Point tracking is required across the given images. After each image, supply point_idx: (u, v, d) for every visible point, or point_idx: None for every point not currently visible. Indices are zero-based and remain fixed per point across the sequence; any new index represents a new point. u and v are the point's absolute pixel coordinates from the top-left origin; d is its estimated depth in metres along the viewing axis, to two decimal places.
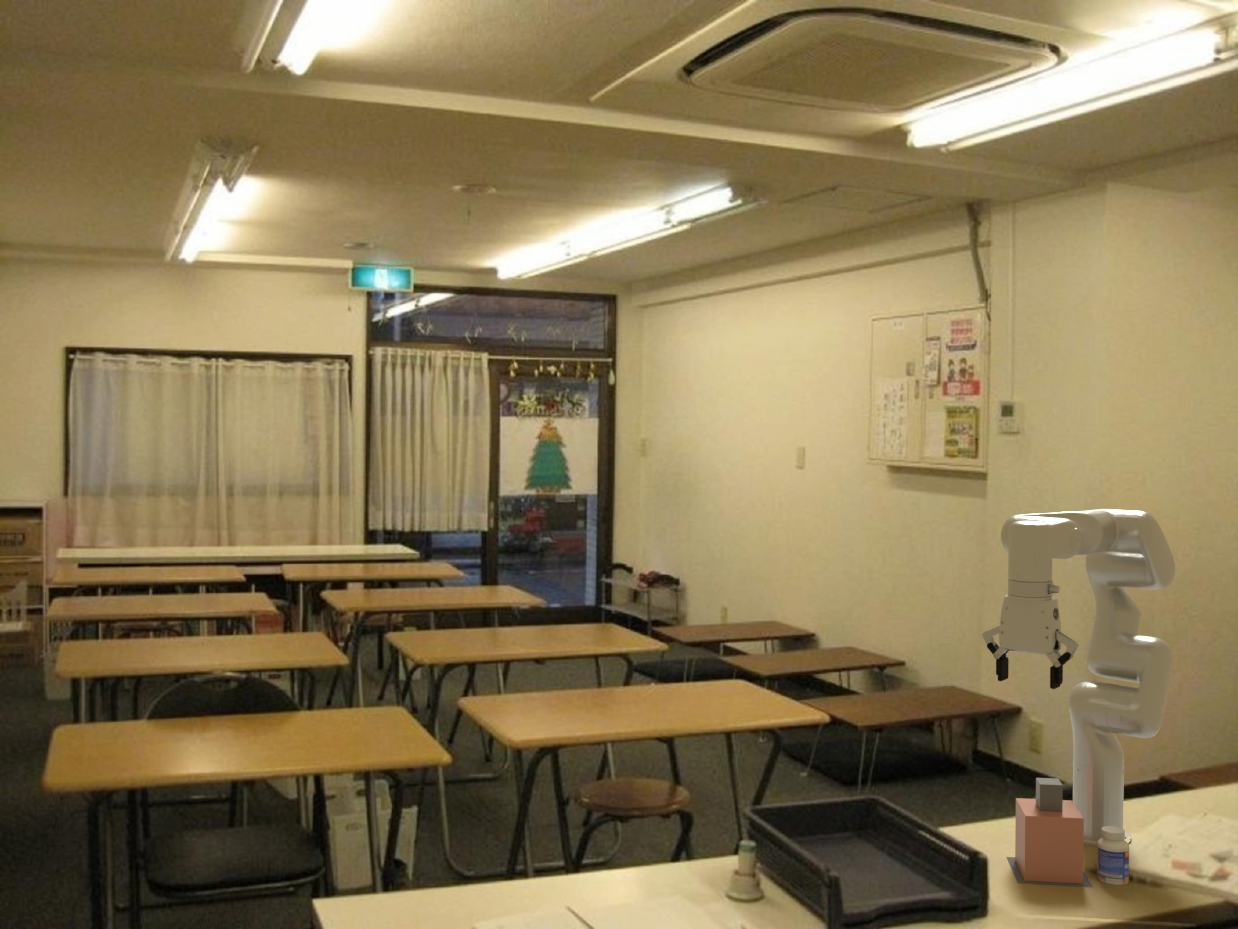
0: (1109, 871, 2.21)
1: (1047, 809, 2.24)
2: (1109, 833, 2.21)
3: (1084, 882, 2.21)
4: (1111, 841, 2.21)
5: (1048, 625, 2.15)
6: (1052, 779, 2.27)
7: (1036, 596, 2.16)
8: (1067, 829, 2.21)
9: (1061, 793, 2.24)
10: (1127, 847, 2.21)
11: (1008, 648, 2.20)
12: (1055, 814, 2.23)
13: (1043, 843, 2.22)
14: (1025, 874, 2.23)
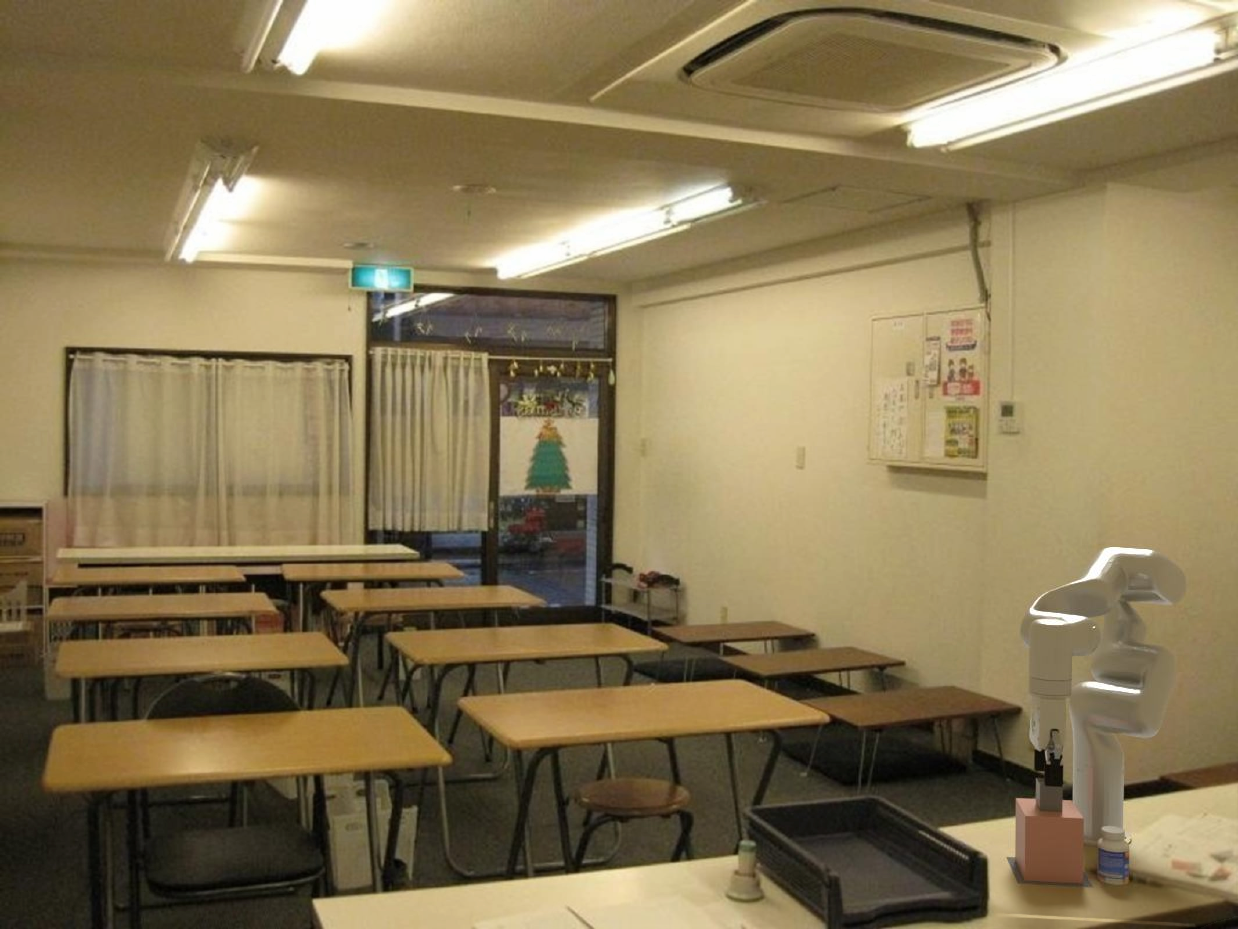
0: (1109, 871, 2.21)
1: (1047, 809, 2.24)
2: (1109, 833, 2.21)
3: (1084, 882, 2.21)
4: (1112, 841, 2.21)
5: None
6: None
7: None
8: (1067, 829, 2.21)
9: (1061, 793, 2.24)
10: (1127, 847, 2.21)
11: None
12: (1055, 814, 2.23)
13: (1043, 843, 2.22)
14: (1025, 874, 2.23)
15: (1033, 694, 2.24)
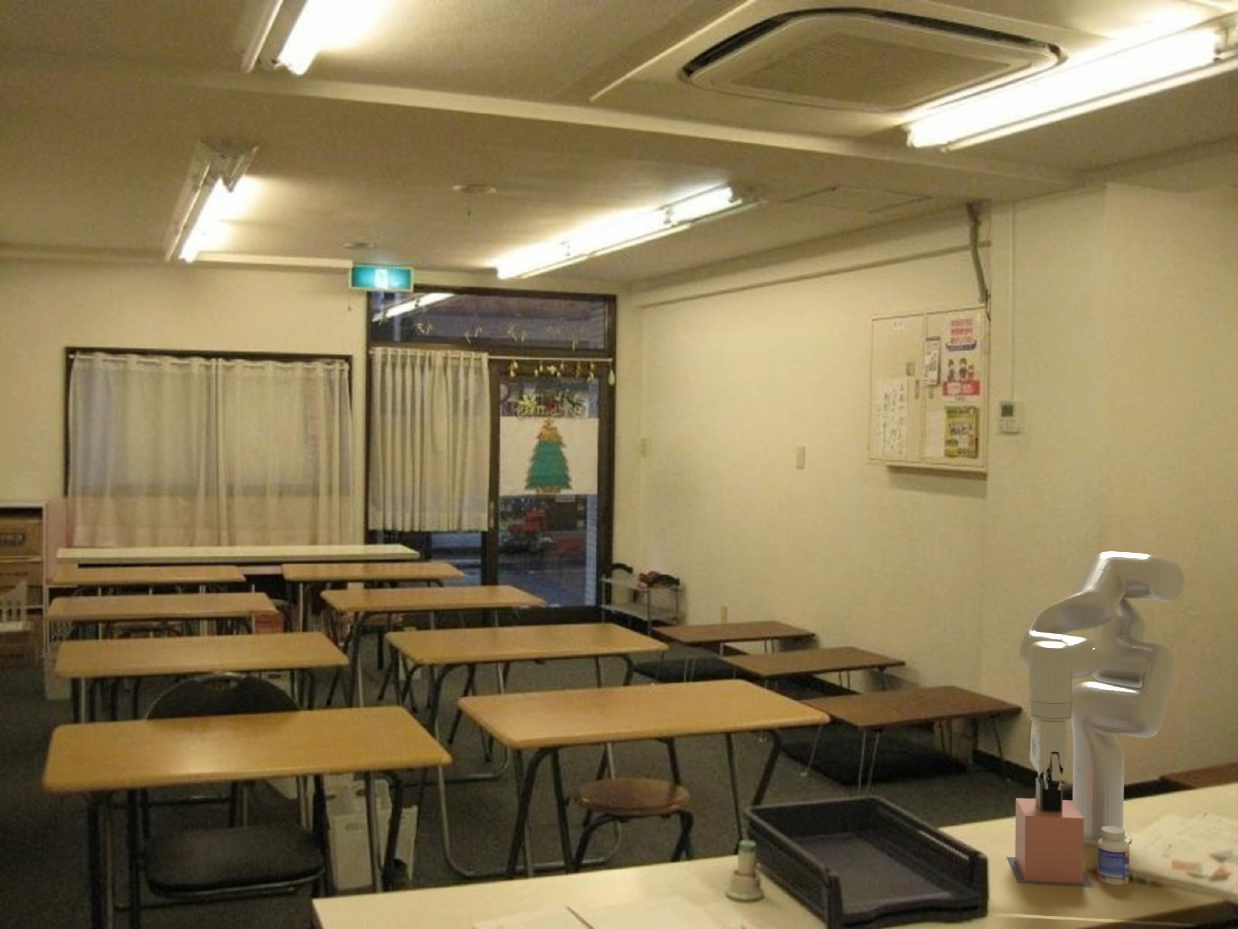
0: (1109, 871, 2.21)
1: None
2: (1109, 833, 2.21)
3: (1084, 882, 2.21)
4: (1111, 841, 2.21)
5: None
6: None
7: None
8: (1067, 829, 2.21)
9: (1061, 793, 2.24)
10: (1127, 847, 2.21)
11: None
12: (1055, 814, 2.23)
13: (1043, 843, 2.22)
14: (1025, 874, 2.23)
15: (1033, 717, 2.24)
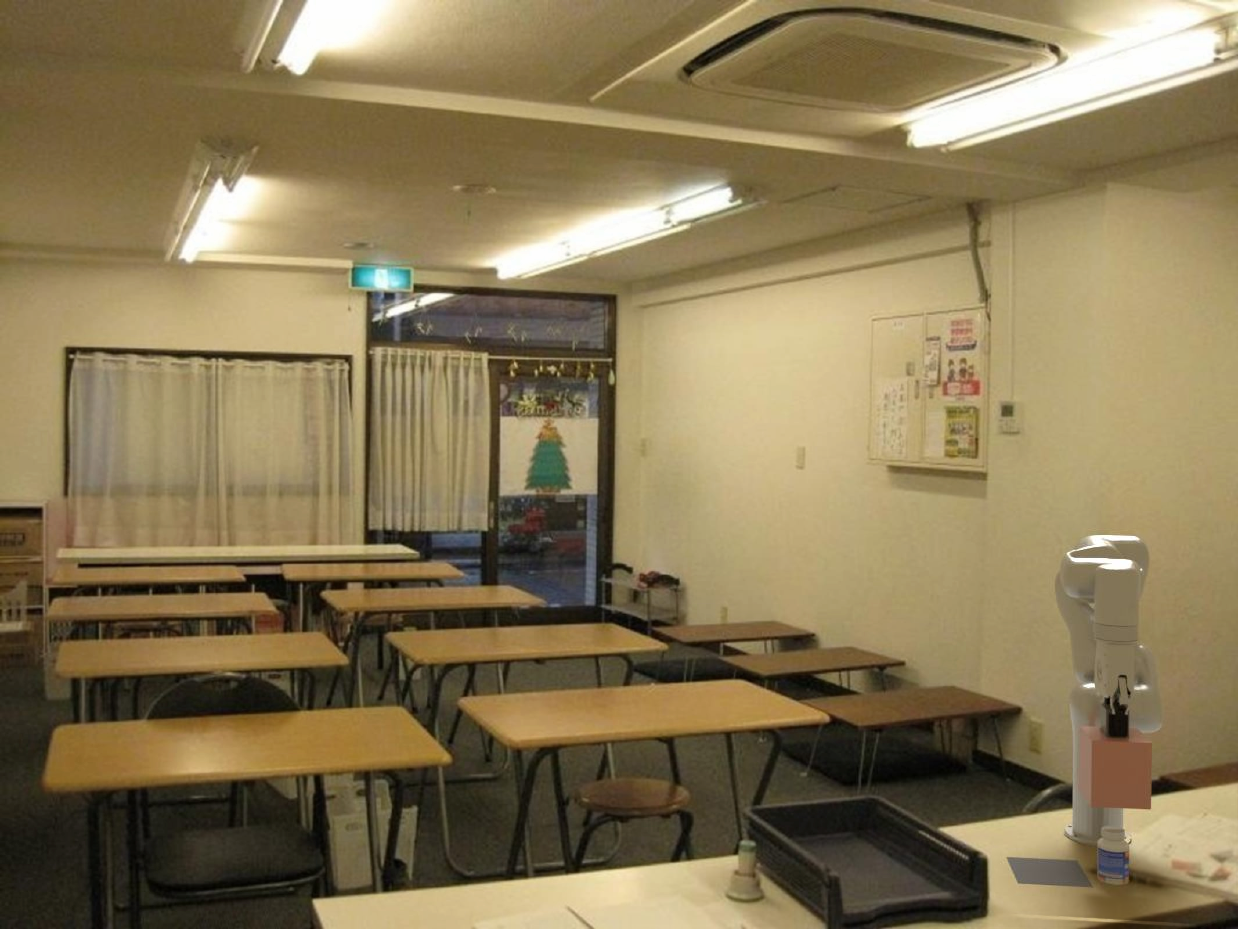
0: (1109, 871, 2.21)
1: None
2: (1109, 833, 2.21)
3: (1084, 882, 2.21)
4: (1111, 841, 2.21)
5: None
6: None
7: None
8: (1135, 754, 2.17)
9: (1128, 718, 2.19)
10: (1127, 847, 2.21)
11: None
12: (1122, 739, 2.19)
13: (1110, 769, 2.17)
14: (1091, 800, 2.18)
15: (1099, 640, 2.20)
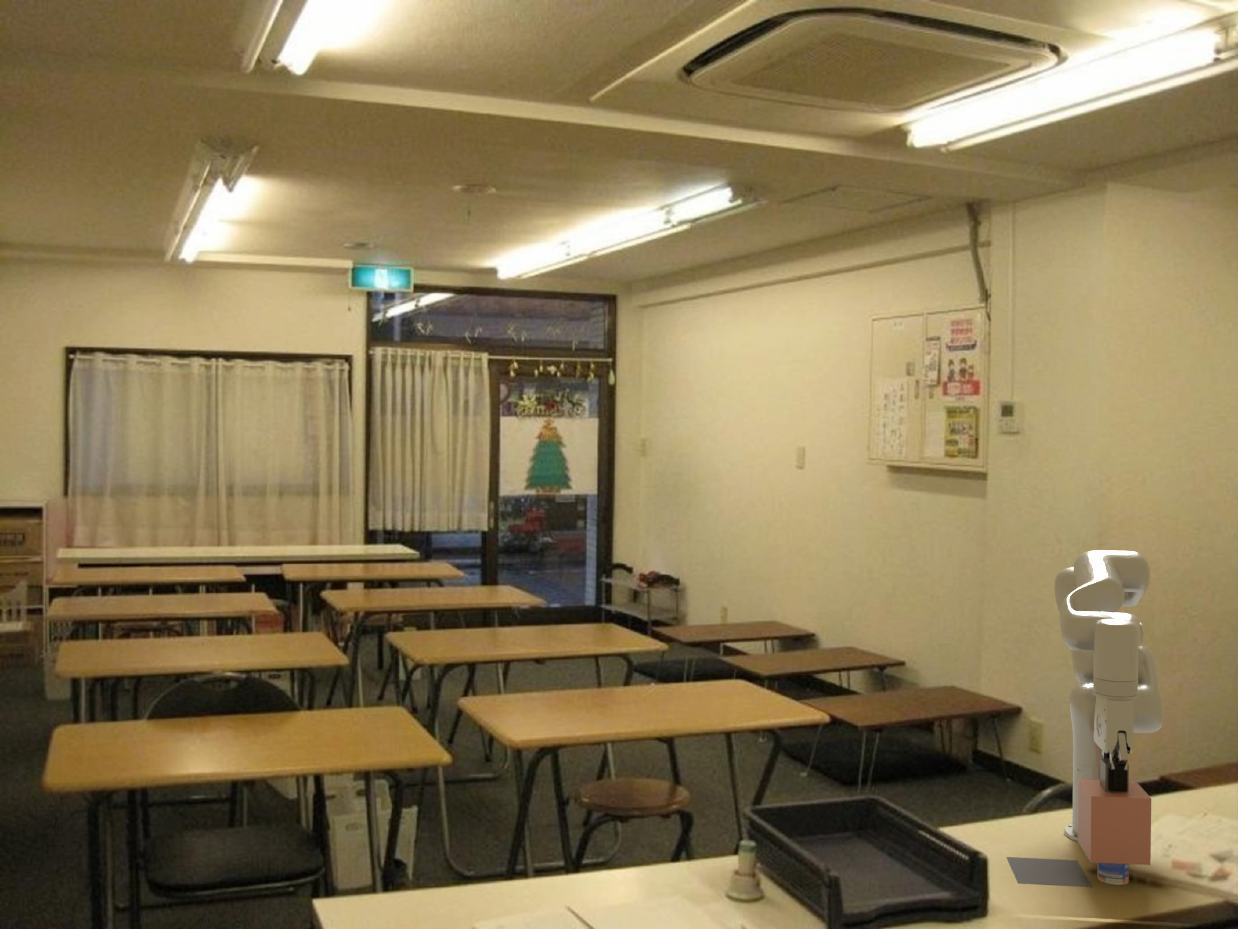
0: (1109, 871, 2.21)
1: None
2: None
3: (1084, 882, 2.21)
4: None
5: None
6: None
7: None
8: (1134, 809, 2.17)
9: (1127, 773, 2.20)
10: None
11: (1130, 751, 2.19)
12: (1122, 794, 2.19)
13: (1109, 824, 2.18)
14: (1091, 856, 2.18)
15: (1099, 695, 2.20)
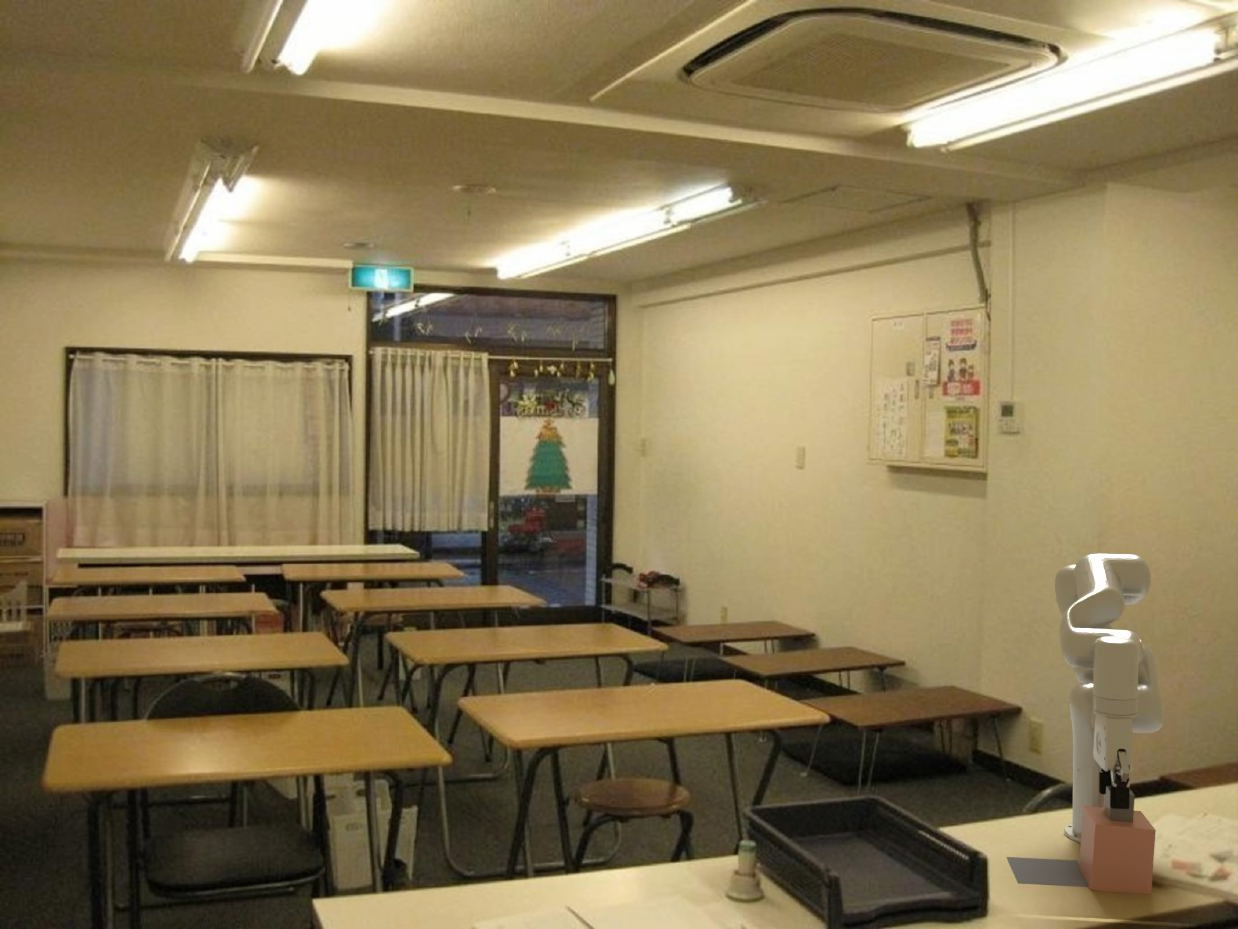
0: None
1: (1117, 819, 2.20)
2: None
3: (1084, 882, 2.21)
4: None
5: None
6: None
7: None
8: (1138, 840, 2.16)
9: (1133, 803, 2.19)
10: None
11: (1129, 769, 2.19)
12: (1126, 824, 2.18)
13: (1112, 853, 2.17)
14: (1091, 883, 2.18)
15: (1098, 713, 2.20)
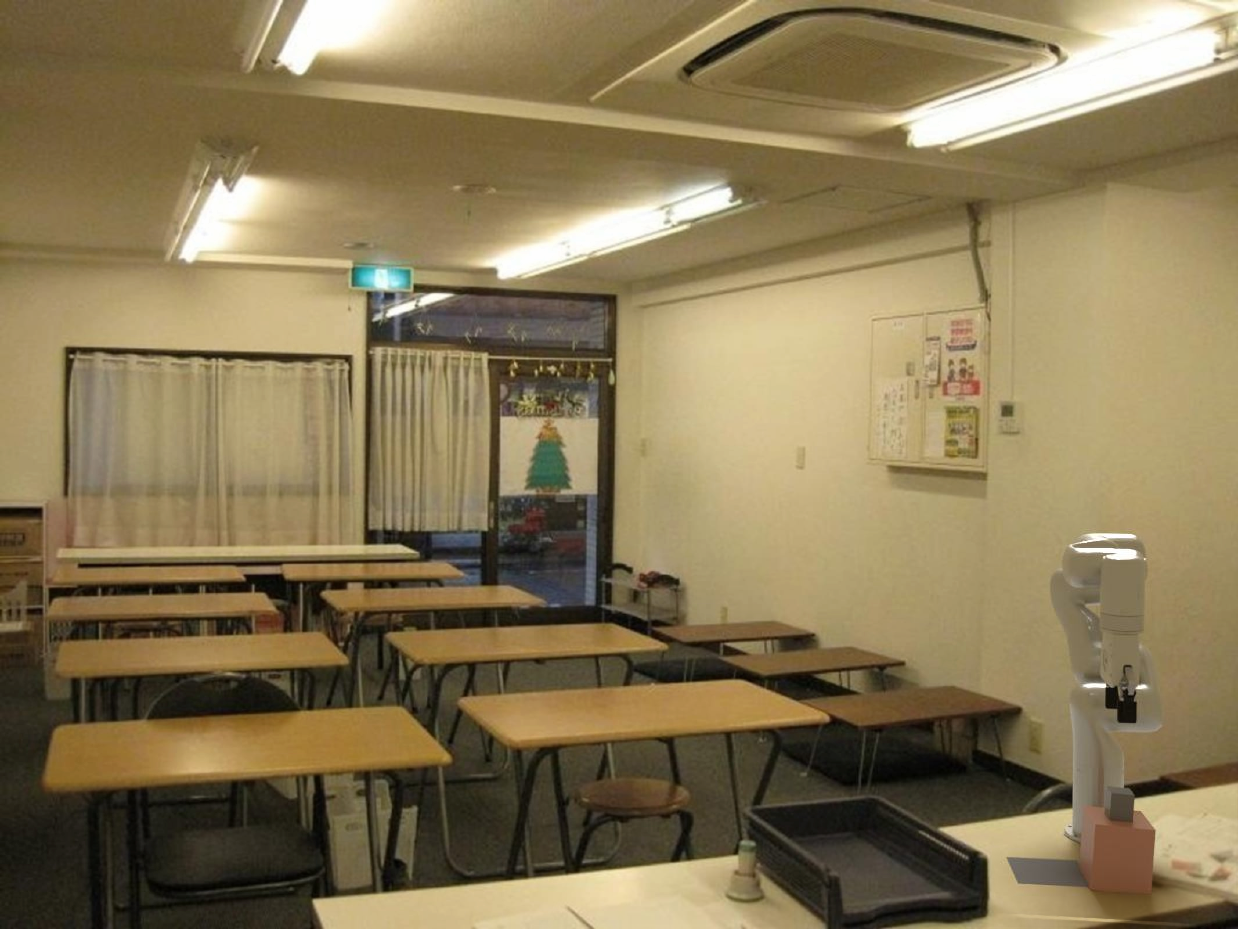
0: None
1: (1117, 819, 2.20)
2: None
3: (1084, 882, 2.21)
4: None
5: None
6: (1123, 789, 2.22)
7: None
8: (1138, 840, 2.16)
9: (1133, 803, 2.19)
10: None
11: None
12: (1126, 824, 2.18)
13: (1112, 853, 2.17)
14: (1091, 883, 2.18)
15: (1105, 630, 2.20)
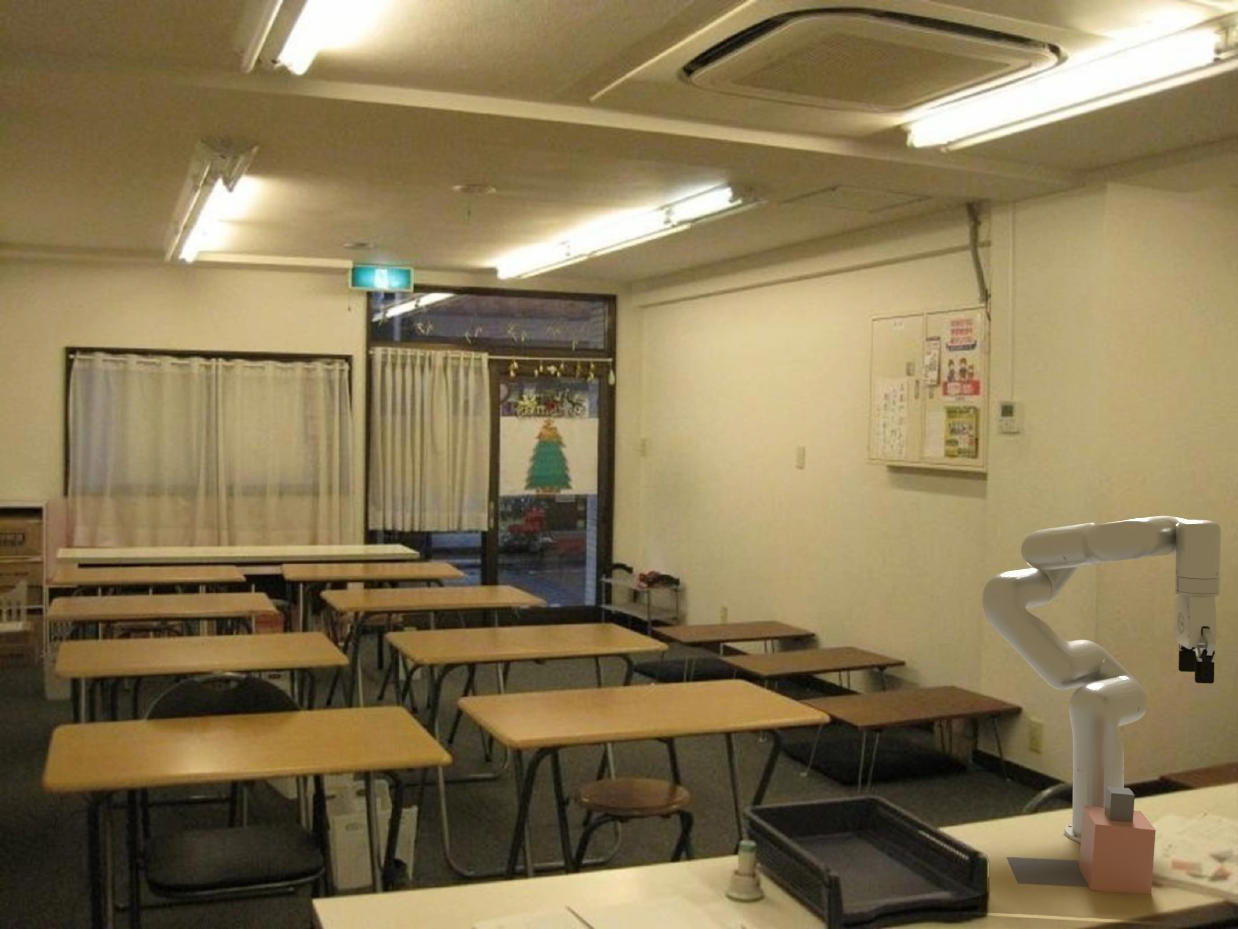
0: None
1: (1117, 819, 2.20)
2: None
3: (1084, 882, 2.21)
4: None
5: None
6: (1123, 789, 2.22)
7: None
8: (1138, 840, 2.16)
9: (1133, 803, 2.19)
10: None
11: None
12: (1126, 824, 2.18)
13: (1112, 853, 2.17)
14: (1091, 883, 2.18)
15: (1182, 593, 2.26)
